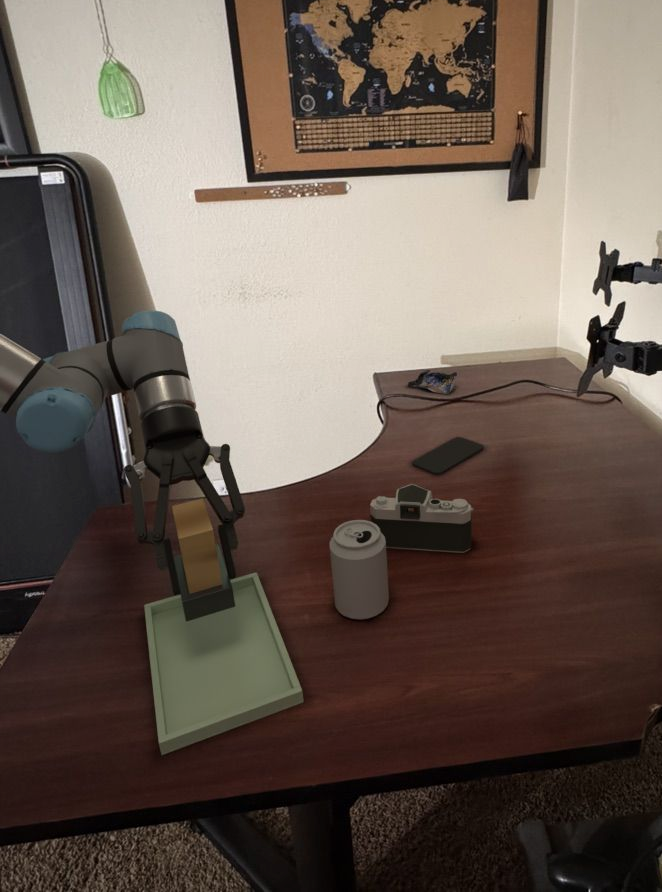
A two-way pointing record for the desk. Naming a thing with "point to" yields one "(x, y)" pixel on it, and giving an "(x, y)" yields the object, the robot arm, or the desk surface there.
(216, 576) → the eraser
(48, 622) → the desk surface
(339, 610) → the can
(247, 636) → the tray
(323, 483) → the desk surface
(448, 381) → the snack package
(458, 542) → the camera
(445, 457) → the phone
